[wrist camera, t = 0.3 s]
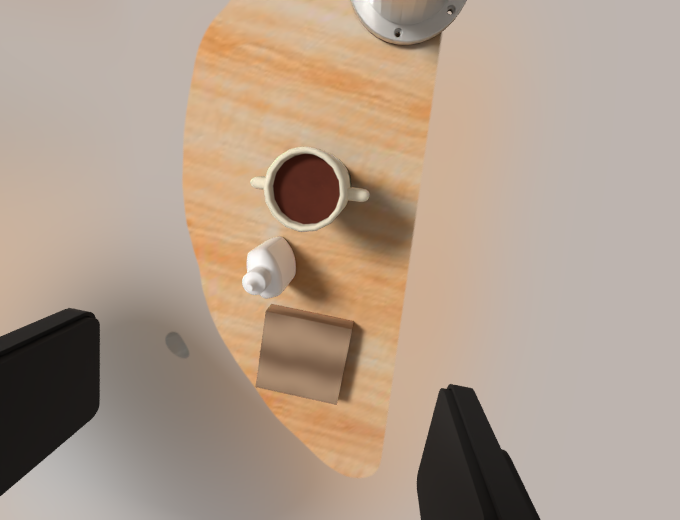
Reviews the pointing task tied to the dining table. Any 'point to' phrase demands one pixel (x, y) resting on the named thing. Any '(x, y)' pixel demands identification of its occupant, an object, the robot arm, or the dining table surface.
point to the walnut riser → (303, 353)
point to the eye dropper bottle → (269, 268)
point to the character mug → (307, 188)
